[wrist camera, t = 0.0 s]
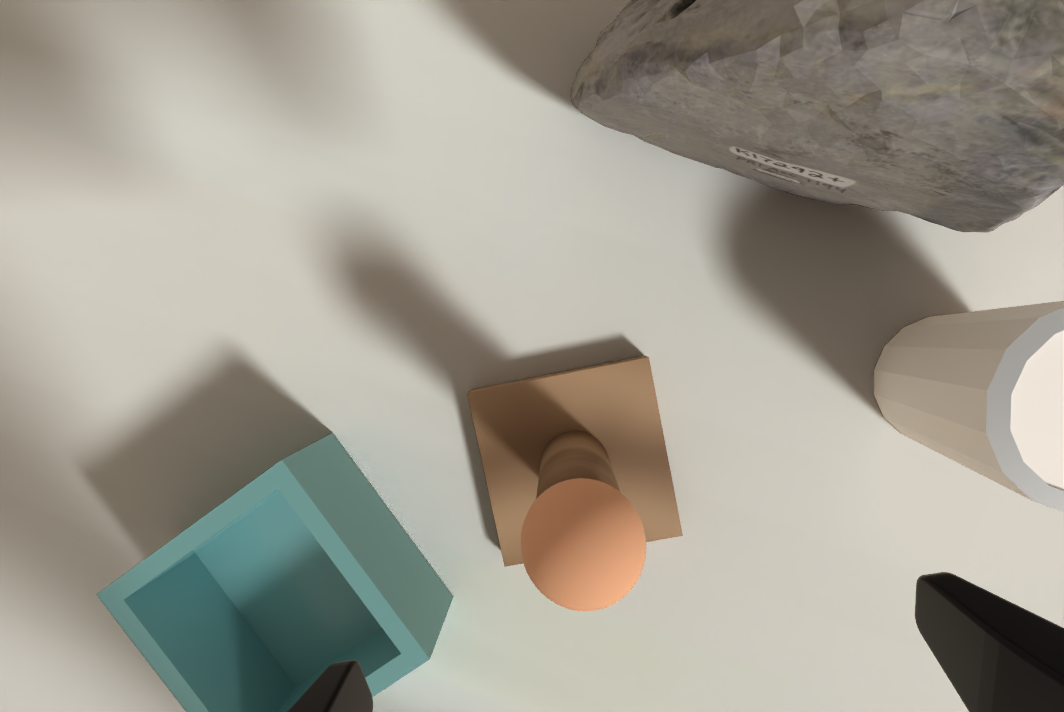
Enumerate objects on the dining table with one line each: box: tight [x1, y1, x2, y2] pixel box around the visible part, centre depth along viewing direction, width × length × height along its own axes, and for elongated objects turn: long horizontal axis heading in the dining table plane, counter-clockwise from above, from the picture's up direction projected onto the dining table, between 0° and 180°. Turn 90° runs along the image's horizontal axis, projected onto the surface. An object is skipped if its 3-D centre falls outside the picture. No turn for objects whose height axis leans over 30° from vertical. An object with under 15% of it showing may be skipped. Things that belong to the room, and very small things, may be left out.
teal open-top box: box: [97, 433, 453, 712], centre depth 23 cm, size 10×10×4 cm
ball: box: [521, 478, 646, 611], centre depth 15 cm, size 4×4×4 cm
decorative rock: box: [570, 0, 1064, 232], centre depth 15 cm, size 16×7×15 cm, turn 70°
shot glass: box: [874, 301, 1064, 512], centre depth 19 cm, size 7×7×7 cm
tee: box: [467, 355, 683, 566], centre depth 20 cm, size 8×8×7 cm
